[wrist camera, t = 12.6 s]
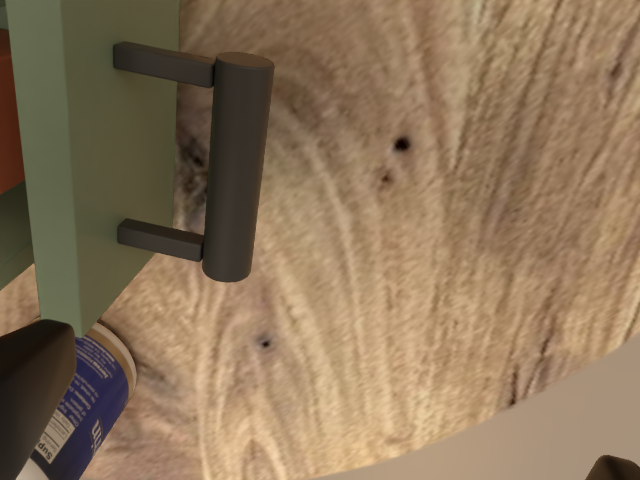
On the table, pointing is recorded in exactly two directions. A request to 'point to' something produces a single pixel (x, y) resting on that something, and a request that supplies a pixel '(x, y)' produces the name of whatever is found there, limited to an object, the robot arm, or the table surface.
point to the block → (9, 121)
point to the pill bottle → (84, 408)
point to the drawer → (121, 151)
